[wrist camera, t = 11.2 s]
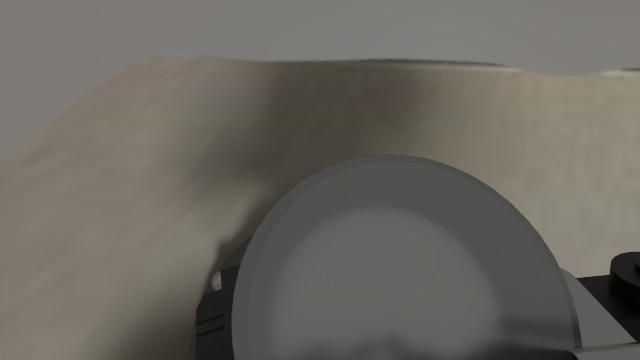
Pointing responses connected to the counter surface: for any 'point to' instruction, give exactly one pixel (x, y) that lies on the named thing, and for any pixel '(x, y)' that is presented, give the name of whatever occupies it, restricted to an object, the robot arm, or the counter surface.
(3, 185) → the counter surface
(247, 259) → the fitting
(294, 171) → the counter surface
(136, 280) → the counter surface
